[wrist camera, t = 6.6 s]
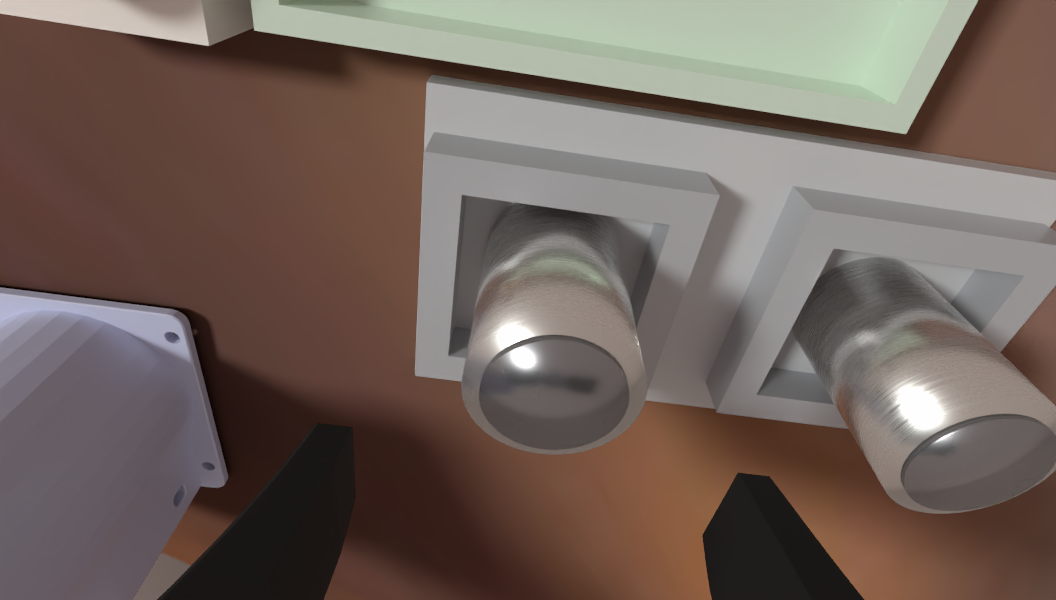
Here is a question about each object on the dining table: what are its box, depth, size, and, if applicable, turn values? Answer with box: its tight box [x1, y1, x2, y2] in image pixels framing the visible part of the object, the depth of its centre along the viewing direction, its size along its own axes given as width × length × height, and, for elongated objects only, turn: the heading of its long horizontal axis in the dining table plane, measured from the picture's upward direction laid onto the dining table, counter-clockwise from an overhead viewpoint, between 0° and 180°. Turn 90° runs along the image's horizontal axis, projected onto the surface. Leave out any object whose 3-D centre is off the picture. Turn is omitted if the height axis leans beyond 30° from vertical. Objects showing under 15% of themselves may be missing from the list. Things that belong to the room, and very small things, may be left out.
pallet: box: [415, 75, 1056, 429], centre depth 17 cm, size 10×18×2 cm, turn 82°
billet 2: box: [792, 257, 1056, 514], centre depth 15 cm, size 4×4×6 cm
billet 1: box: [461, 203, 647, 455], centre depth 14 cm, size 4×4×6 cm
